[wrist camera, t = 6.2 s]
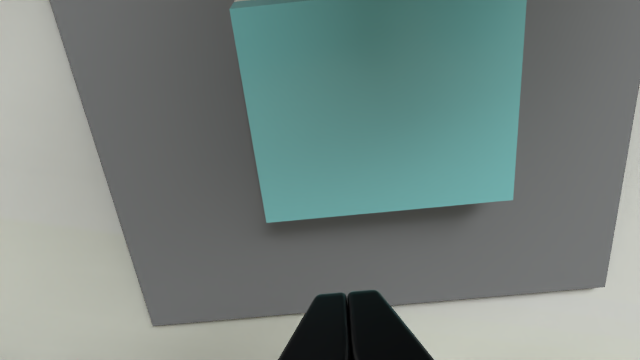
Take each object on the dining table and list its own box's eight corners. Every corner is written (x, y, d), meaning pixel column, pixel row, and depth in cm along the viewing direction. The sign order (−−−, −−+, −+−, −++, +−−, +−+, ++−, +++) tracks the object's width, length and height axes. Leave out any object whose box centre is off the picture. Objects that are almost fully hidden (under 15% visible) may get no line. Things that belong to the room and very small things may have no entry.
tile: (270, 192, 18) (494, 170, 17) (266, 223, 16) (513, 199, 16) (238, -5, 15) (505, -34, 15) (229, 8, 13) (528, -24, 13)
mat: (599, 279, 20) (604, 286, 20) (155, 318, 21) (152, 326, 20) (714, -418, 12) (726, -428, 11) (-43, -318, 12) (-54, -324, 12)
